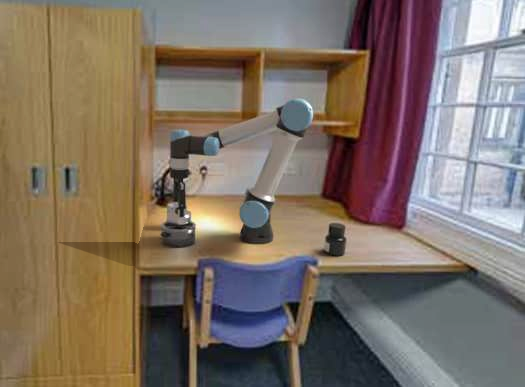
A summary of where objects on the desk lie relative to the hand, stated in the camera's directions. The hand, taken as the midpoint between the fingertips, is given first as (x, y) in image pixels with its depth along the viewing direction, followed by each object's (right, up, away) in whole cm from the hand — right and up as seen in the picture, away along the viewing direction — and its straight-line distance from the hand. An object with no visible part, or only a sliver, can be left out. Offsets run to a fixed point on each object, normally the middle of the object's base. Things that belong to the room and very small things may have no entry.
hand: (178, 220), depth 175 cm
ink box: (-5, -5, +19) cm, 20 cm away
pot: (-1, -9, +2) cm, 10 cm away
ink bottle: (+66, -14, +1) cm, 67 cm away
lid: (0, -1, 0) cm, 1 cm away
